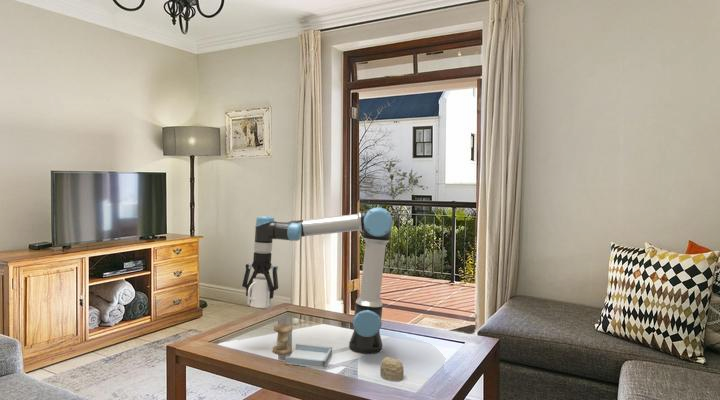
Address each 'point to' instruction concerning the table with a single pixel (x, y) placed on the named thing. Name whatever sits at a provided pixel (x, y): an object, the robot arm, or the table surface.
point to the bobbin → (282, 339)
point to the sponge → (391, 369)
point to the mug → (259, 292)
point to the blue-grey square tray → (310, 356)
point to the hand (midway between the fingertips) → (259, 304)
